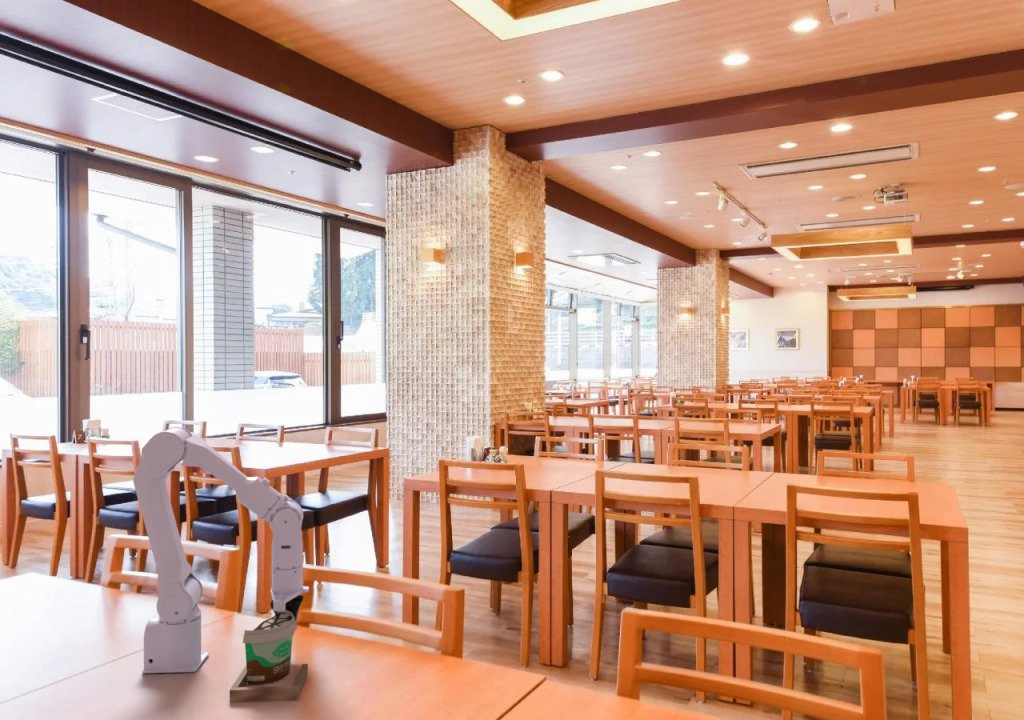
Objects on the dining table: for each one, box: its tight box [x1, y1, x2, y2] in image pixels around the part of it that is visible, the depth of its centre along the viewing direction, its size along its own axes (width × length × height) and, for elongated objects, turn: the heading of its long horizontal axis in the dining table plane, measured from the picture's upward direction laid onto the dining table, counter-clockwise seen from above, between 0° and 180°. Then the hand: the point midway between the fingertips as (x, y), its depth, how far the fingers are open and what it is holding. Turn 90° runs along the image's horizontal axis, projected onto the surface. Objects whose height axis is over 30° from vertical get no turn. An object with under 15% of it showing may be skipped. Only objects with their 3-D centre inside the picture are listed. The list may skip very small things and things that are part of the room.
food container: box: [242, 610, 298, 686], centre depth 137 cm, size 12×6×10 cm, turn 168°
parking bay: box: [229, 663, 309, 703], centre depth 132 cm, size 11×10×2 cm
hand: (287, 636), depth 146 cm, fingers closed
